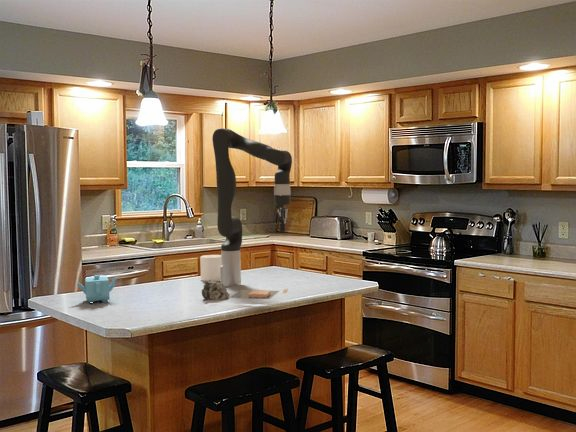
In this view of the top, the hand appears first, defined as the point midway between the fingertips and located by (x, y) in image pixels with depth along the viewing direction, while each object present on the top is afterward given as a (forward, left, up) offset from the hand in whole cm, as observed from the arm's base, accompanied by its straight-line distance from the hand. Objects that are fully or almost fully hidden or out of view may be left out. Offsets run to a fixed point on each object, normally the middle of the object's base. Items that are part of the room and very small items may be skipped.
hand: (282, 231), depth 296 cm
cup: (-42, +22, -27) cm, 55 cm away
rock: (-24, -27, -27) cm, 45 cm away
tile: (-6, -18, -25) cm, 31 cm away
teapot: (-73, -38, -27) cm, 87 cm away
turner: (+3, -12, -27) cm, 30 cm away
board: (-9, -18, -27) cm, 34 cm away
